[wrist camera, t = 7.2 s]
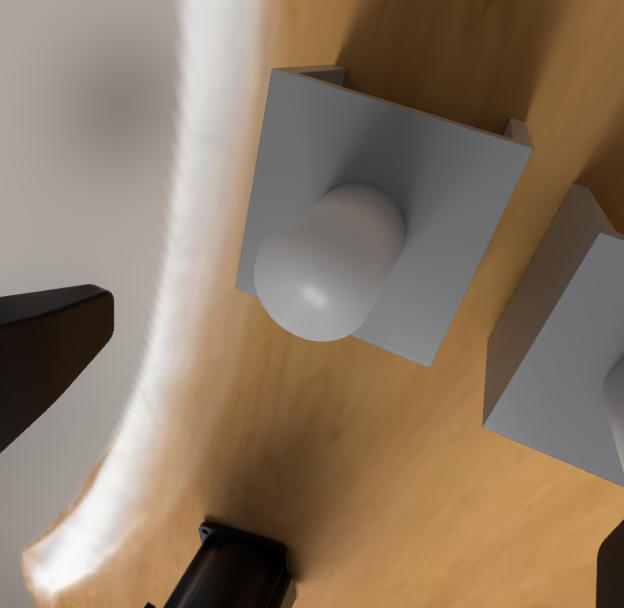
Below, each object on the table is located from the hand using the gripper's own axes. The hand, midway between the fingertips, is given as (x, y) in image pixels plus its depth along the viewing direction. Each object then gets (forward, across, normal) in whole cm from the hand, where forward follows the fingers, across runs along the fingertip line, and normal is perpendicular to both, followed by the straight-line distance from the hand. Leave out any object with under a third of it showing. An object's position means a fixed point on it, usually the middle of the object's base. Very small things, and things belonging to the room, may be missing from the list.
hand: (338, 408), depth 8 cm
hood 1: (+12, +2, 0) cm, 13 cm away
